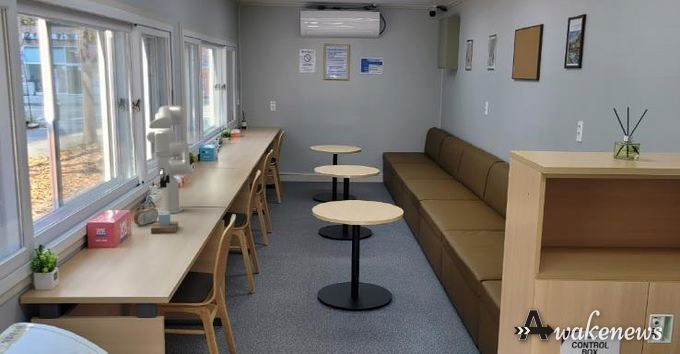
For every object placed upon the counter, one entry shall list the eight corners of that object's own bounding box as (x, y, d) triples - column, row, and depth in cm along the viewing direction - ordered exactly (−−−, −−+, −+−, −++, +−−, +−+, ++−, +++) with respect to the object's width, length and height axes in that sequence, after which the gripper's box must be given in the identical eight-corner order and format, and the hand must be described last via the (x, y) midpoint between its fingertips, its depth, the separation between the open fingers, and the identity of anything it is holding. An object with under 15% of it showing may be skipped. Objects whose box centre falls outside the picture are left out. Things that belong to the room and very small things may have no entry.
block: (160, 223, 306) (160, 212, 305) (170, 223, 306) (169, 212, 305) (159, 226, 301) (158, 215, 300) (168, 225, 302) (168, 214, 300)
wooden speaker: (155, 220, 323) (154, 206, 322) (159, 221, 322) (158, 206, 320) (133, 226, 311) (132, 211, 309) (137, 227, 309) (136, 212, 308)
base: (155, 227, 309) (155, 222, 309) (178, 226, 311) (177, 221, 310) (151, 233, 298) (150, 228, 297) (174, 233, 299) (174, 227, 299)
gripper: (158, 150, 310) (160, 181, 314) (152, 157, 293) (154, 189, 297) (173, 150, 311) (174, 181, 315) (167, 157, 294) (169, 189, 298)
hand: (165, 185), depth 306 cm, fingers open, 9 cm apart
